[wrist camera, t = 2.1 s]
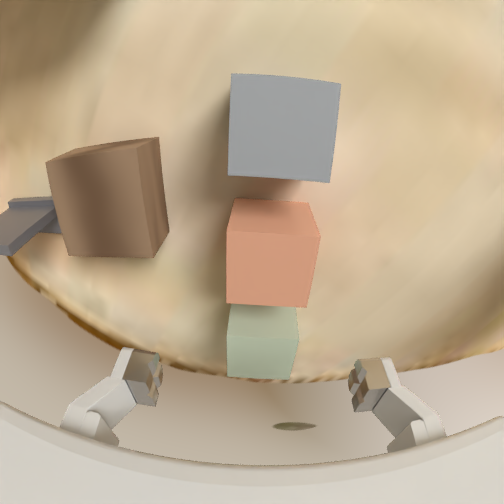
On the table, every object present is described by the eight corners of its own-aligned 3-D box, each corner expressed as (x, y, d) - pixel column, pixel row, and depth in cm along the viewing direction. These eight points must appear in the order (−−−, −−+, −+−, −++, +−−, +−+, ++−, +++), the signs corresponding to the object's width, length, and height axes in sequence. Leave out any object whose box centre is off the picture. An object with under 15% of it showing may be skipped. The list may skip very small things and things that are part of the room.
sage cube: (294, 294, 24) (299, 339, 19) (286, 335, 26) (288, 379, 22) (232, 290, 24) (226, 335, 20) (232, 332, 26) (227, 376, 22)
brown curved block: (160, 136, 18) (136, 147, 14) (170, 229, 21) (153, 258, 18) (77, 148, 18) (45, 162, 15) (93, 230, 22) (68, 255, 18)
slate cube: (321, 86, 16) (340, 83, 11) (313, 160, 18) (329, 182, 14) (239, 79, 16) (231, 73, 11) (236, 154, 18) (227, 175, 14)
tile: (64, 196, 20) (8, 239, 14) (71, 229, 21) (22, 277, 15) (13, 198, 20) (-38, 235, 14) (20, 227, 21) (-26, 268, 15)
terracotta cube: (308, 202, 20) (320, 236, 15) (299, 263, 22) (306, 307, 18) (235, 197, 20) (226, 230, 15) (233, 259, 22) (226, 303, 18)
